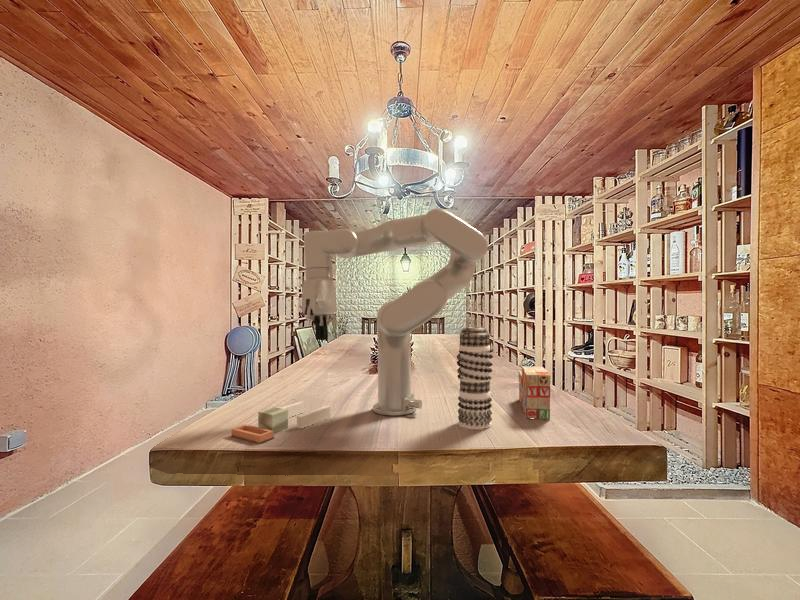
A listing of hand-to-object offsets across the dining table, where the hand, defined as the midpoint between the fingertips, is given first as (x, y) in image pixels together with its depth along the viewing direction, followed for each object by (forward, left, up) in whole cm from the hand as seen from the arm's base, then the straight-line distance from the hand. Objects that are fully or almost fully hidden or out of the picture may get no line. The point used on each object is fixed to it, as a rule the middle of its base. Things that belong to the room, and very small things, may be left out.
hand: (321, 339), depth 119 cm
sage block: (0, +18, -21) cm, 28 cm away
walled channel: (+1, +8, -21) cm, 23 cm away
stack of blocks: (-51, -34, -21) cm, 65 cm away
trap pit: (+1, +24, -21) cm, 32 cm away
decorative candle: (-41, -11, -21) cm, 48 cm away
